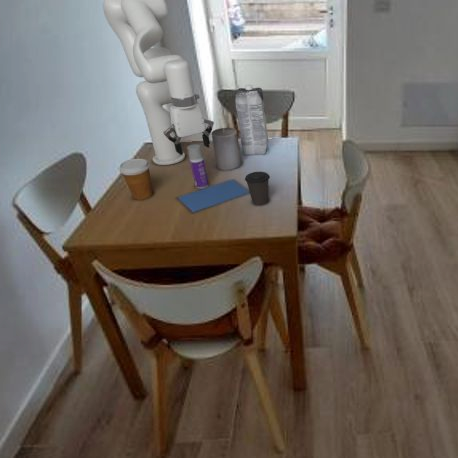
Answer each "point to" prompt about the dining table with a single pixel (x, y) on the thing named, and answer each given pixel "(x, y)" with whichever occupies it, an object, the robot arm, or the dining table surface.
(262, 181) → the coffee cup
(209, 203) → the napkin
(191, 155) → the container
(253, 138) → the juice carton
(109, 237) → the dining table surface
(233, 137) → the pillar candle
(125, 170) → the disposable coffee cup
